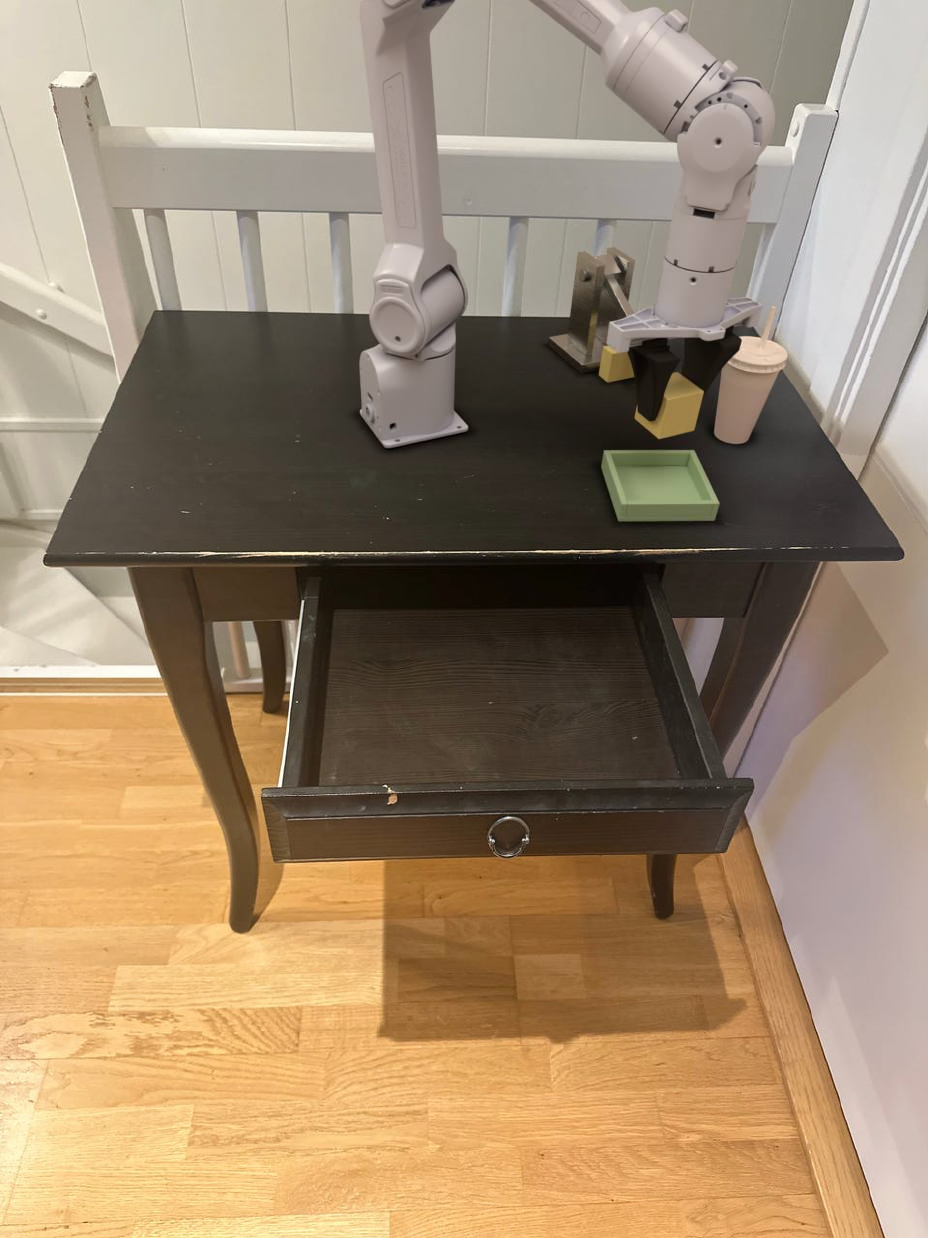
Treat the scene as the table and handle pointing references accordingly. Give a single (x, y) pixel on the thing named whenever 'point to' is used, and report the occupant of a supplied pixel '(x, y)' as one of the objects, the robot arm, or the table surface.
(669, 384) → the yellow cube
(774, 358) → the smoothie
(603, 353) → the butter block
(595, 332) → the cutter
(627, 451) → the dish
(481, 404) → the table surface
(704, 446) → the table surface
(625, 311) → the cutter lever
